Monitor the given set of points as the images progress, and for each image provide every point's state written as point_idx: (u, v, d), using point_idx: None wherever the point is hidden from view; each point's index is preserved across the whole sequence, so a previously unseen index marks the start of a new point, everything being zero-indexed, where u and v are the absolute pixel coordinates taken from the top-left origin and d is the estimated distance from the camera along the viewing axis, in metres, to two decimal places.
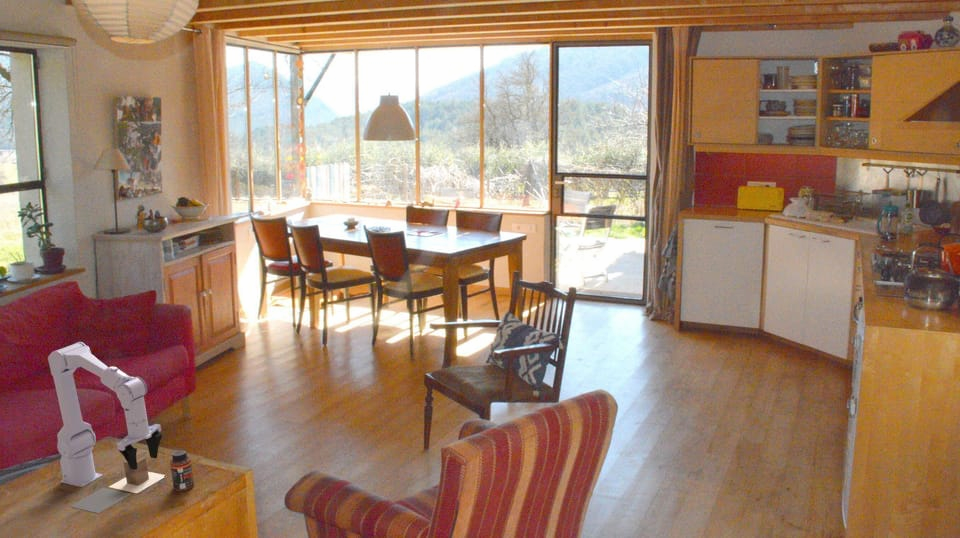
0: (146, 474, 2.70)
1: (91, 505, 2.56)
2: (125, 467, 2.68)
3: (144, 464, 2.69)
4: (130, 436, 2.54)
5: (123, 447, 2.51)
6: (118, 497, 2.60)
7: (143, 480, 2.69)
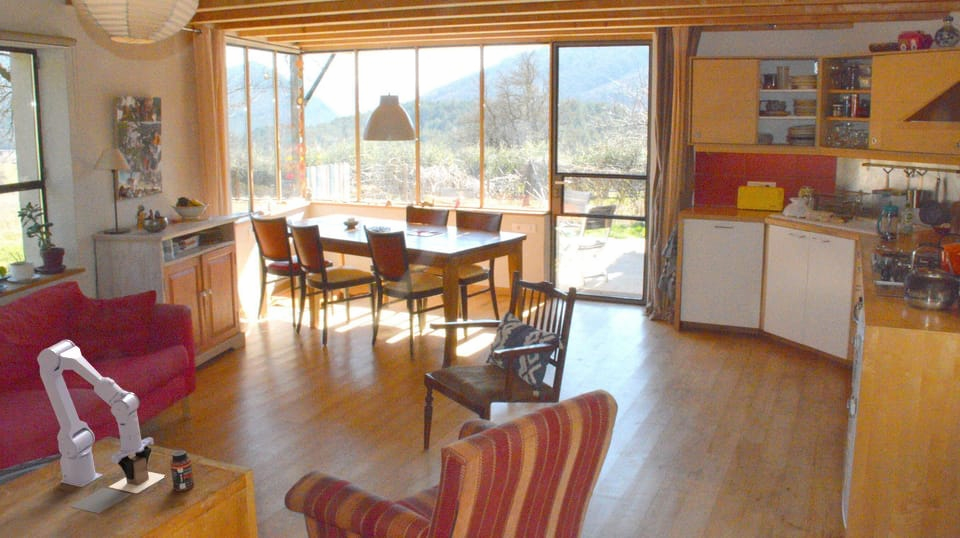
0: (146, 474, 2.70)
1: (91, 505, 2.56)
2: None
3: (144, 464, 2.69)
4: (123, 449, 2.65)
5: (117, 460, 2.61)
6: (118, 497, 2.60)
7: (143, 480, 2.69)
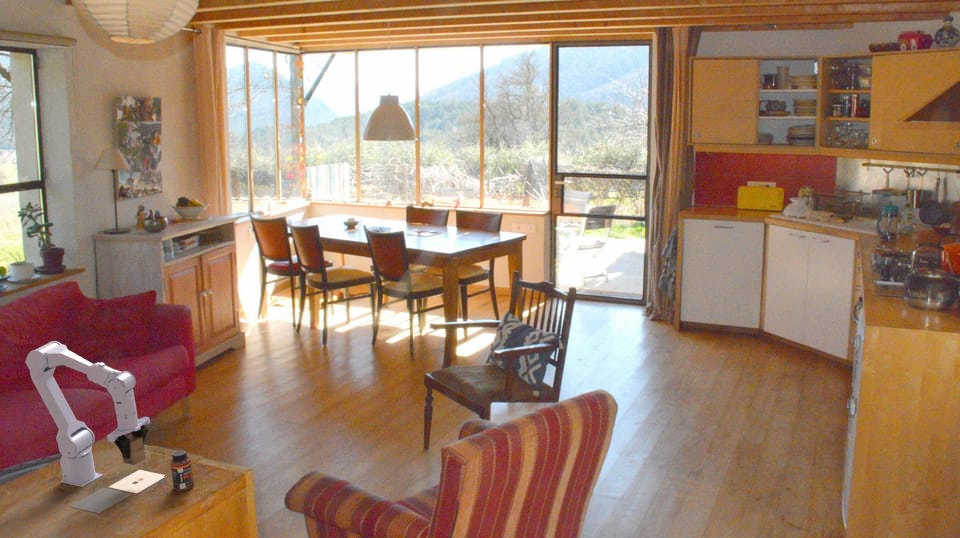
0: (143, 454, 2.68)
1: (91, 505, 2.56)
2: None
3: (141, 444, 2.68)
4: (120, 428, 2.63)
5: (113, 439, 2.60)
6: (118, 497, 2.60)
7: (140, 460, 2.67)
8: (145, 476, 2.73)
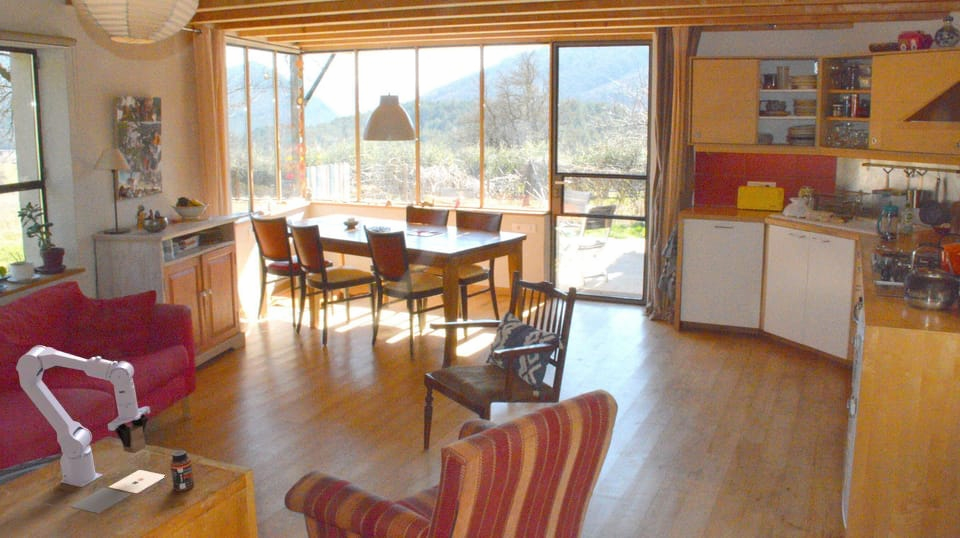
0: (143, 442, 2.73)
1: (91, 505, 2.56)
2: None
3: (141, 433, 2.73)
4: (120, 417, 2.68)
5: (113, 427, 2.65)
6: (118, 497, 2.60)
7: (140, 448, 2.72)
8: (145, 476, 2.73)
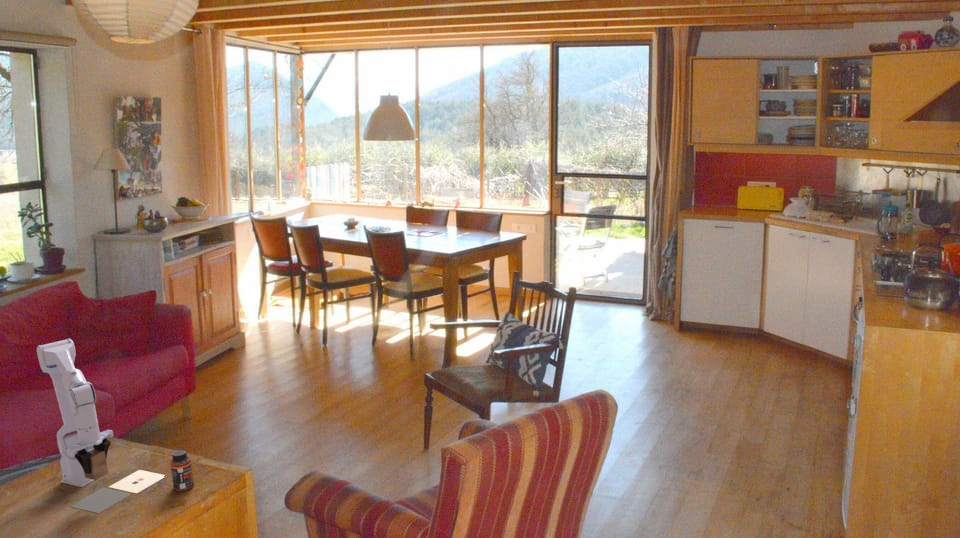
0: (105, 468, 2.57)
1: (91, 505, 2.56)
2: None
3: (103, 458, 2.57)
4: (80, 442, 2.52)
5: (73, 453, 2.49)
6: (118, 497, 2.60)
7: (102, 474, 2.56)
8: (145, 476, 2.73)
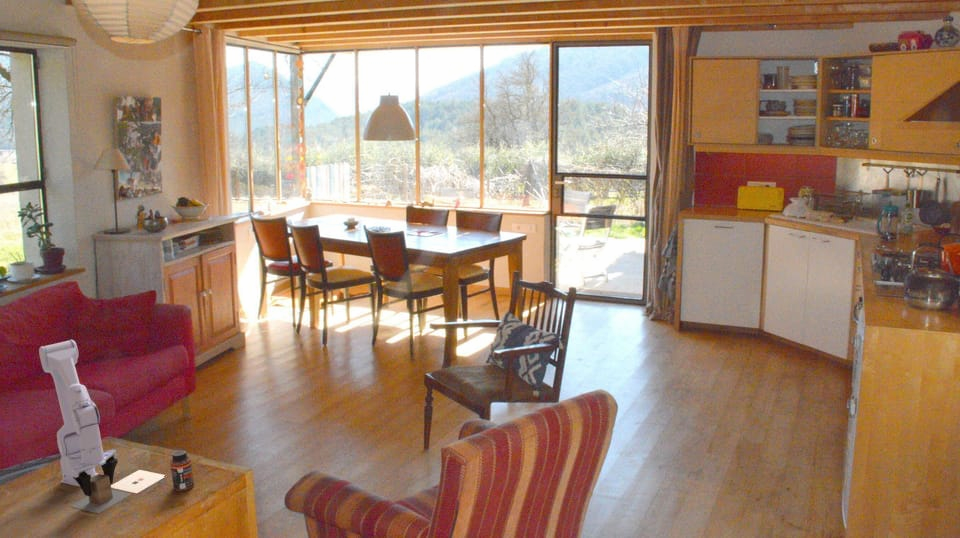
0: (110, 493, 2.59)
1: (91, 505, 2.56)
2: None
3: (108, 483, 2.58)
4: (84, 462, 2.54)
5: (76, 474, 2.50)
6: (118, 497, 2.60)
7: (106, 499, 2.58)
8: (145, 476, 2.73)
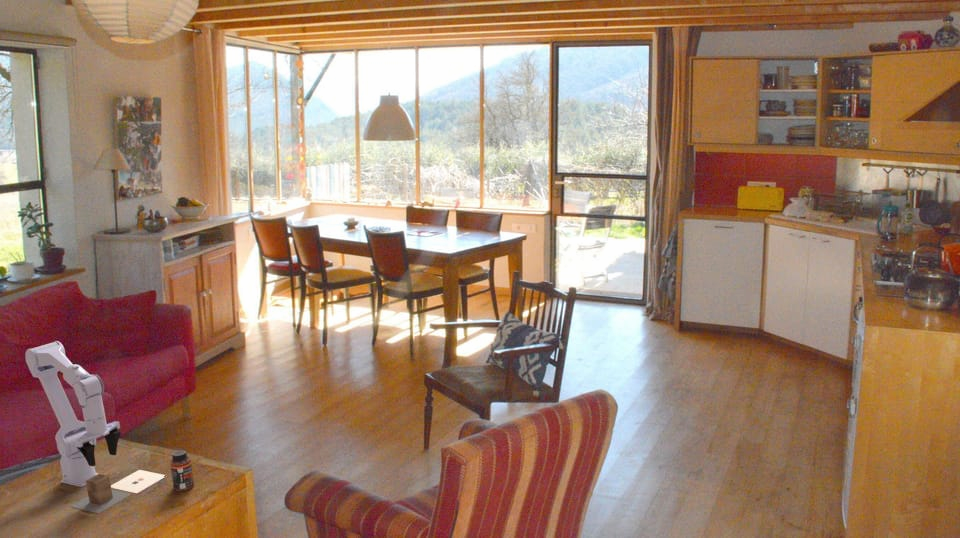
0: (110, 493, 2.59)
1: (91, 505, 2.56)
2: (87, 486, 2.57)
3: (108, 483, 2.58)
4: (88, 433, 2.58)
5: (80, 444, 2.54)
6: (118, 497, 2.60)
7: (106, 499, 2.58)
8: (145, 476, 2.73)
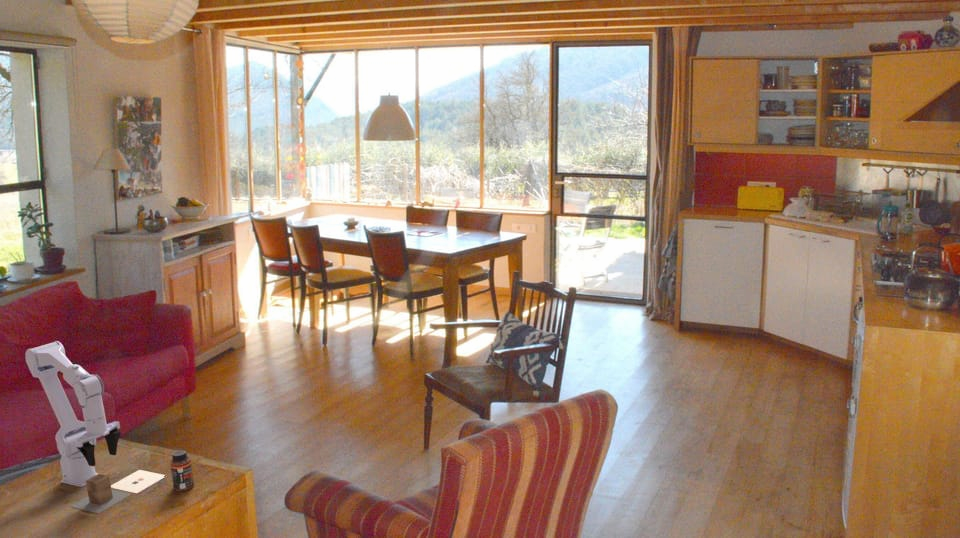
0: (110, 493, 2.59)
1: (91, 505, 2.56)
2: (87, 486, 2.57)
3: (108, 483, 2.58)
4: (88, 433, 2.58)
5: (80, 444, 2.54)
6: (118, 497, 2.60)
7: (106, 499, 2.58)
8: (145, 476, 2.73)
